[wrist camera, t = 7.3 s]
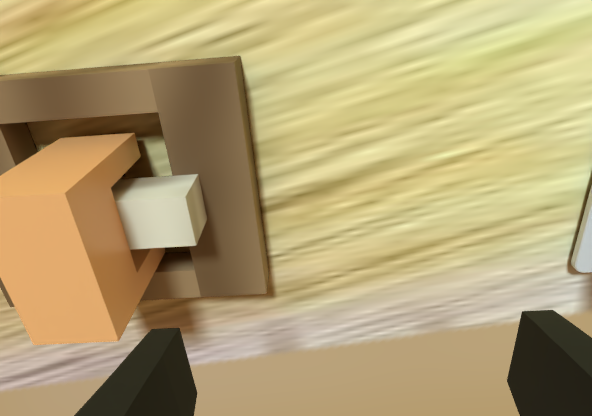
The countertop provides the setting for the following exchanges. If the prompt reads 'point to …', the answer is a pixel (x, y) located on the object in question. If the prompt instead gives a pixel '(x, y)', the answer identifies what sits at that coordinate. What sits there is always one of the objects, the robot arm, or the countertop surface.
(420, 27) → the countertop surface
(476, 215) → the countertop surface
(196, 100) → the brown rectangular frame
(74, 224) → the orange block
